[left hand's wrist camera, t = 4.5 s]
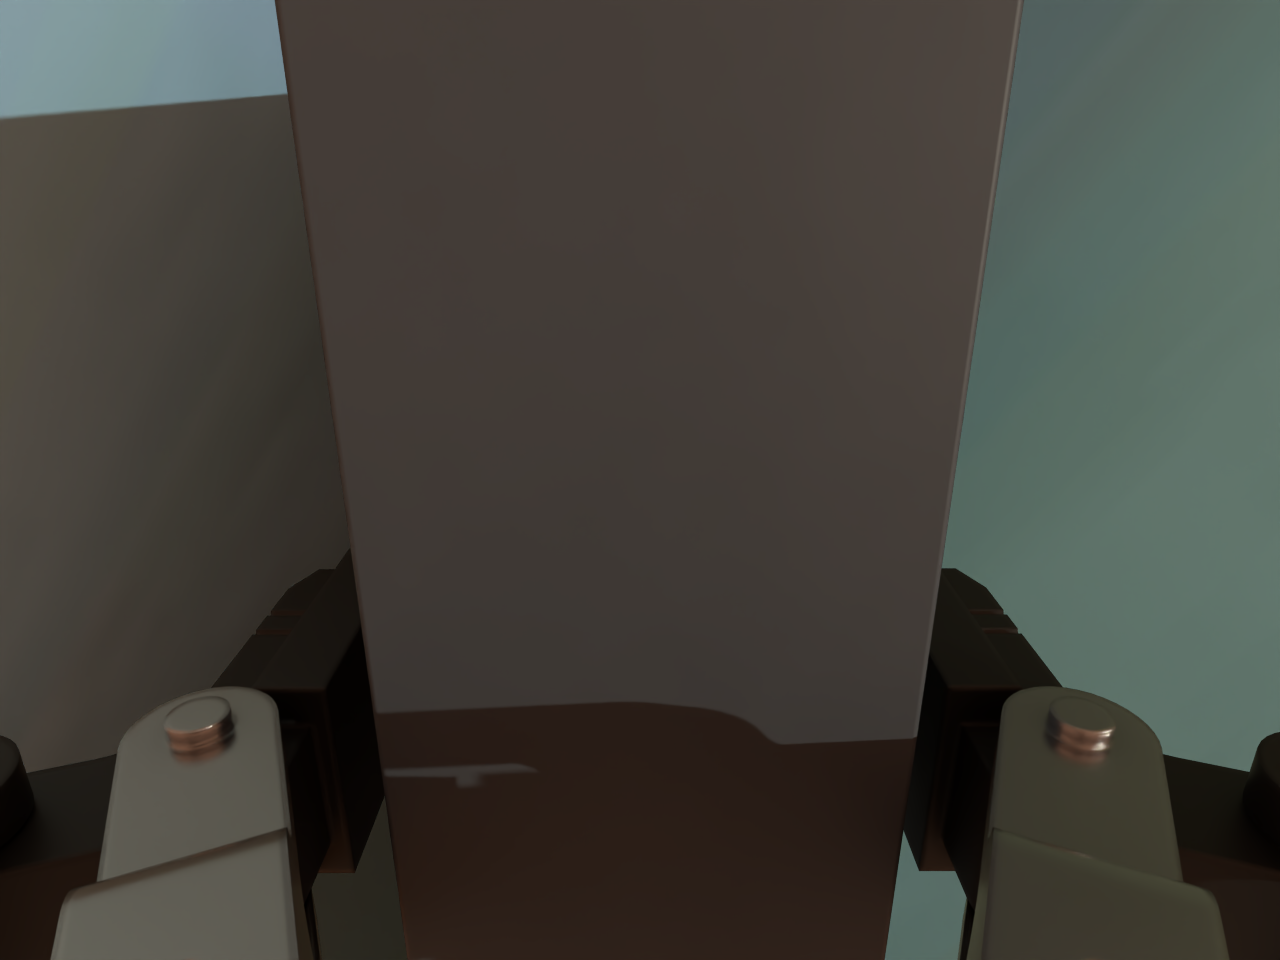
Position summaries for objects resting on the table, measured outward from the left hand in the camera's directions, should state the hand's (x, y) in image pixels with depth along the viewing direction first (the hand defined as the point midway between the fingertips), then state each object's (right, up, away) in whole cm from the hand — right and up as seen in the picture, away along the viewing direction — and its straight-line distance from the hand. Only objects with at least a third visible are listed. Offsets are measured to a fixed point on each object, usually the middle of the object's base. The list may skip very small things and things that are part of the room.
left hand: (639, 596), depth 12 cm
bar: (0, -21, +13) cm, 24 cm away
